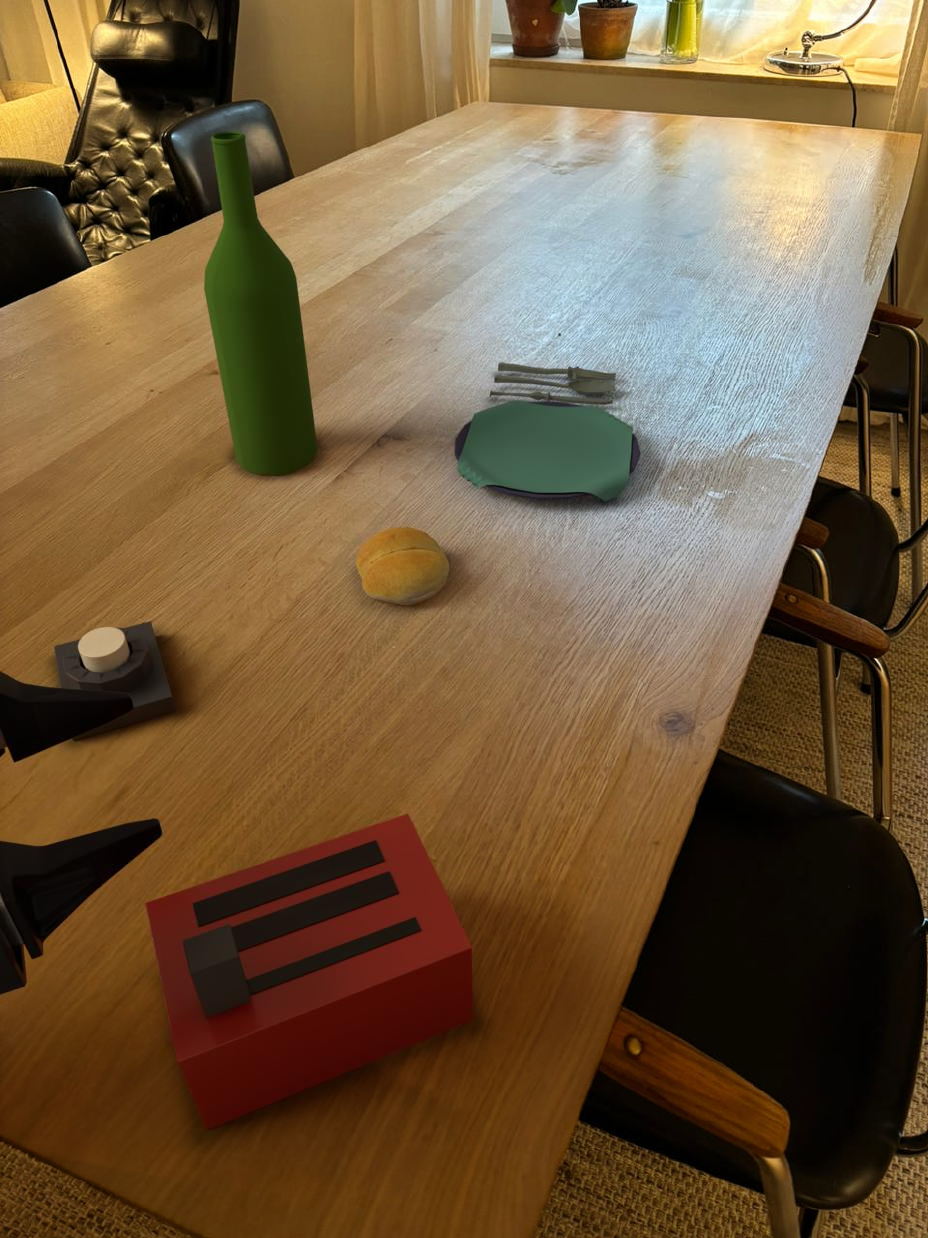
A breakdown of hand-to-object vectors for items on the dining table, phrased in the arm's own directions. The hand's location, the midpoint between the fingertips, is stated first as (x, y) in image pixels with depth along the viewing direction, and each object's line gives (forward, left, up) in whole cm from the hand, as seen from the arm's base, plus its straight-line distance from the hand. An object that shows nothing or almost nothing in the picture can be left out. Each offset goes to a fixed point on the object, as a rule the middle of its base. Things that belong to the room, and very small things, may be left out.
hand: (145, 760), depth 52 cm
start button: (-2, +26, -14) cm, 30 cm away
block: (-2, +26, -17) cm, 31 cm away
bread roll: (+25, +30, -17) cm, 43 cm away
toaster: (+6, -7, -17) cm, 19 cm away
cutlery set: (+49, +47, -17) cm, 70 cm away
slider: (+1, -9, -9) cm, 13 cm away
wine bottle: (+20, +56, -17) cm, 62 cm away
